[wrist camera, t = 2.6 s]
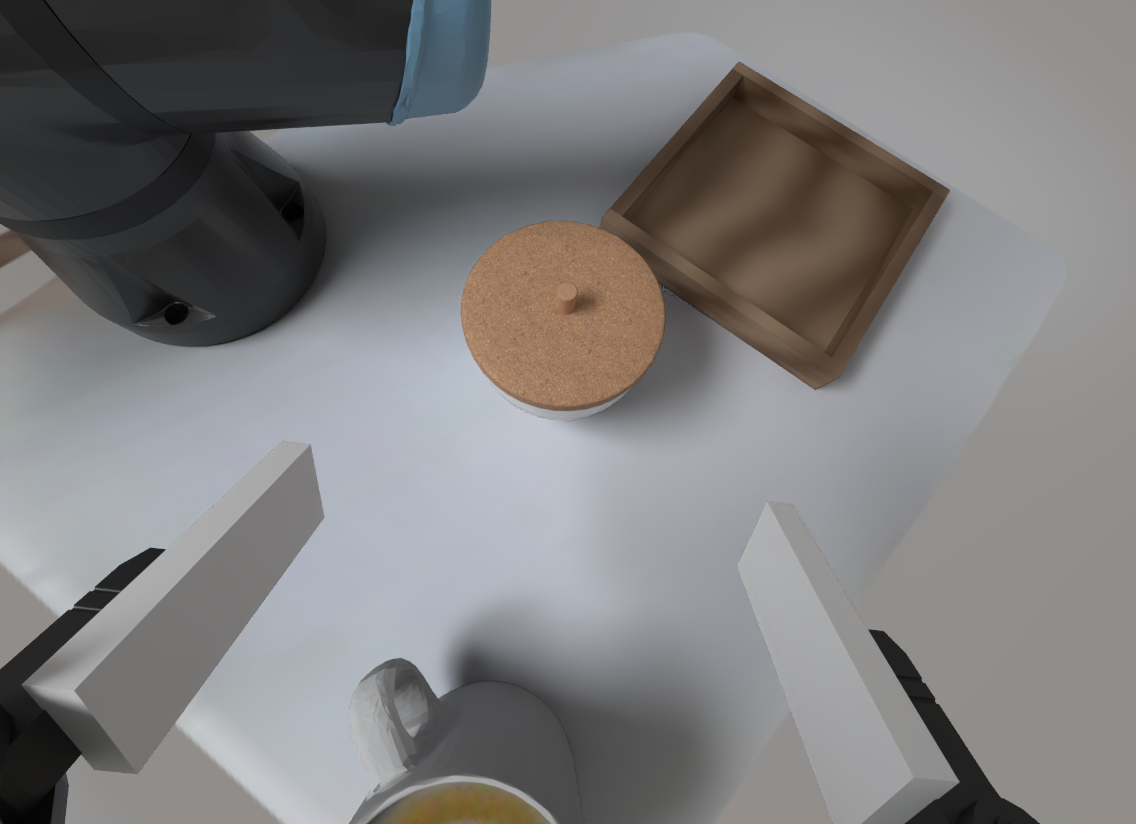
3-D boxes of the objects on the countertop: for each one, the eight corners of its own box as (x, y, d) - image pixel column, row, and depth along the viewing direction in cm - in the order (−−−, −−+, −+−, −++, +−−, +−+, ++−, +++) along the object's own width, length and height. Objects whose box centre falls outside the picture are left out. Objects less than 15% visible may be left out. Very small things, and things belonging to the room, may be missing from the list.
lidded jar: (568, 265, 33) (581, 163, 23) (666, 374, 31) (720, 310, 22) (447, 348, 30) (409, 270, 21) (545, 471, 29) (549, 444, 19)
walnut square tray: (597, 240, 33) (601, 218, 31) (726, 91, 38) (738, 61, 35) (815, 389, 31) (838, 377, 29) (922, 213, 36) (950, 190, 34)
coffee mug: (604, 840, 24) (650, 1053, 14) (421, 939, 22) (333, 1256, 12) (516, 592, 27) (505, 627, 17) (349, 664, 25) (232, 748, 15)
